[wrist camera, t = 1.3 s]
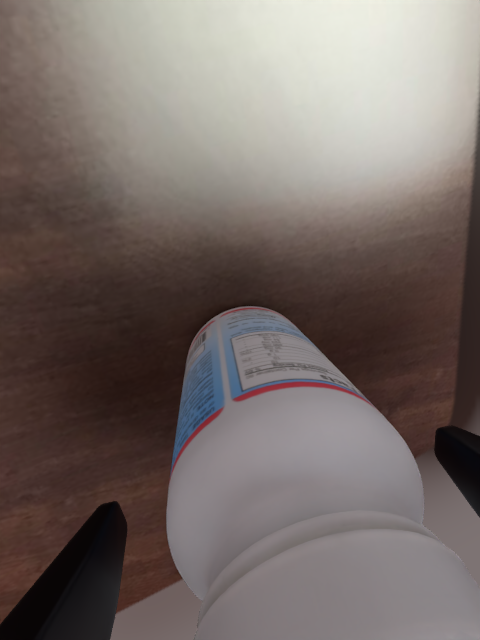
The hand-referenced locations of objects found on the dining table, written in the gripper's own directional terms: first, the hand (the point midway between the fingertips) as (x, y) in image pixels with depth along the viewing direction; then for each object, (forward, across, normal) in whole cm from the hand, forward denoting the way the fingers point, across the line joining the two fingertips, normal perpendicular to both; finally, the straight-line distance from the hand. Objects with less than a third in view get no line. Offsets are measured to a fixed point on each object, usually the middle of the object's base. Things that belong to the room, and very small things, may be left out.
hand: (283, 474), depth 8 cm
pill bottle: (+7, 0, 0) cm, 7 cm away
